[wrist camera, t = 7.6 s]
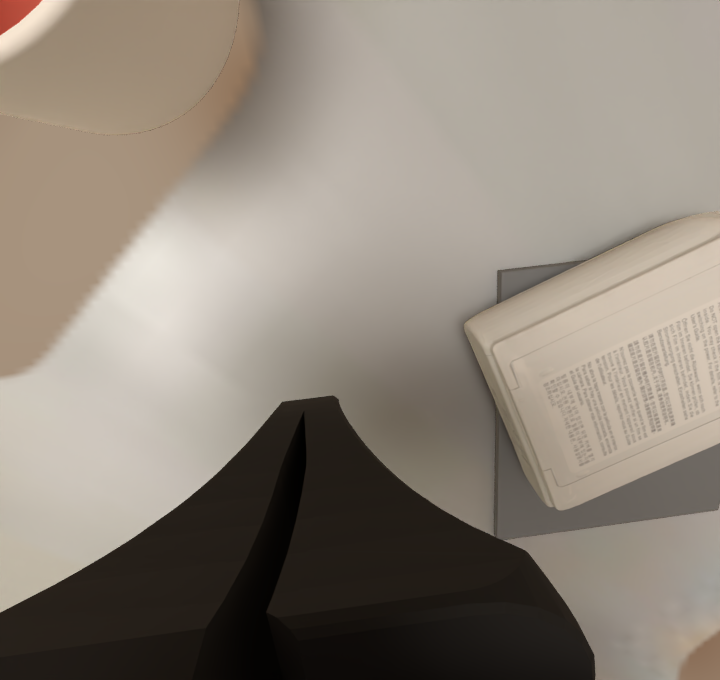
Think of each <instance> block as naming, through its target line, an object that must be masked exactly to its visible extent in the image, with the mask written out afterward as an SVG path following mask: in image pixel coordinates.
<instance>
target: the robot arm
mask: <svg viewBox="0 0 720 680" xmlns="http://www.w3.org/2000/svg"><path fill="white" fill-rule="evenodd" d="M0 680H595V661H594V654H593V652H592V650H591V648H590V646H589V644H588V642H587V640H586V638H585V636H584V634H583V632H582V630H581V628H580V626H579V624H578V622H577V621H576V619H575V617H574V616H573V614H572V613H571V611H570V609H569V608H568V606H567V605H566V603H565V602H564V600H563V599H562V598H561V596H560V595H559V593H558V592H557V591H556V589H555V588H554V587H553V585H552V584H551V582H550V581H549V580H548V578H547V577H546V576H545V574H544V573H543V572H542V570H541V569H540V568H539V566H538V565H537V564H536V562H535V561H534V560H533V559H532V557H531V556H530V555H529V554H528V552H526V551H525V550H523V549H521V548H519V547H516V546H514V545H512V544H510V543H507V542H505V541H503V540H501V539H499V538H496V537H494V536H492V535H490V534H488V533H485V532H483V531H481V530H479V529H476V528H474V527H472V526H470V525H468V524H466V523H465V522H463V521H461V520H459V519H458V518H456V517H454V516H452V515H450V514H449V513H447V512H445V511H443V510H442V509H440V508H438V507H437V506H435V505H434V504H433V503H431V502H430V501H428V500H427V499H425V498H424V497H422V496H421V495H419V494H418V493H416V492H415V491H414V490H412V489H411V488H410V487H409V486H407V485H406V484H405V483H404V482H402V481H401V480H400V479H399V478H398V477H397V476H395V475H394V474H393V473H392V472H391V471H390V470H389V469H388V468H387V467H386V466H385V465H384V464H383V463H382V462H381V461H380V460H379V459H378V458H377V457H376V456H375V455H374V454H373V453H372V452H371V451H370V449H369V448H368V447H367V446H366V445H365V444H364V442H363V441H362V440H361V439H360V437H359V436H358V435H357V433H356V432H355V430H354V429H353V428H352V426H351V425H350V423H349V422H348V420H347V419H346V417H345V415H344V413H343V411H342V409H341V407H340V405H339V399H337V398H336V397H335V396H326V397H318V398H310V399H302V400H294V401H286V402H282V403H281V404H280V405H279V407H278V408H277V409H276V410H275V411H274V412H273V414H272V415H271V416H270V417H269V418H268V420H267V421H266V422H265V423H264V424H263V426H262V427H261V428H260V429H259V430H258V431H257V433H256V434H255V435H254V436H253V437H252V438H251V439H250V441H249V442H248V443H247V444H246V445H245V446H244V447H243V448H242V449H241V450H240V451H239V452H238V453H237V454H236V455H235V456H234V457H233V458H232V459H231V460H230V461H229V462H228V463H227V464H226V465H225V466H224V467H223V468H222V469H221V470H220V471H219V472H218V473H217V474H216V475H215V476H214V477H213V478H212V479H210V480H209V481H208V482H207V483H206V484H205V485H204V486H203V487H201V488H200V489H199V490H198V491H196V492H195V493H194V494H193V495H192V496H190V497H189V498H188V499H187V500H185V501H184V502H183V503H182V504H180V505H179V506H178V507H176V508H175V509H174V510H172V511H171V512H169V513H168V514H167V515H165V516H164V517H162V518H161V519H160V520H158V521H157V522H155V523H154V524H152V525H151V526H150V527H148V528H147V529H145V530H144V531H143V532H141V533H140V534H138V535H137V536H135V537H134V538H132V539H131V540H129V541H128V542H126V543H125V544H123V545H121V546H120V547H118V548H117V549H115V550H113V551H112V552H110V553H109V554H107V555H105V556H104V557H102V558H100V559H99V560H97V561H95V562H94V563H92V564H90V565H88V566H87V567H85V568H83V569H82V570H80V571H78V572H77V573H75V574H73V575H71V576H69V577H68V578H66V579H64V580H62V581H60V582H59V583H57V584H55V585H53V586H51V587H49V588H47V589H46V590H44V591H42V592H40V593H38V594H36V595H34V596H32V597H30V598H28V599H26V600H24V601H22V602H20V603H18V604H16V605H14V606H13V607H11V608H9V609H7V610H5V611H3V612H1V613H0Z"/></svg>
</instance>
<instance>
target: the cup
mask: <svg viewBox="0 0 720 680" xmlns="http://www.w3.org/2000/svg"><path fill="white" fill-rule="evenodd" d="M239 3H240V0H0V114H3V115H8V116H13V117H17V118H22V119H27V120H32V121H36V122H41V123H45V124H51V125H55V126H59V127H64V128H69V129H74V130H78V131H84V132H89V133H95V134H104V135H127V134H135V133H141V132H145V131H150V130H153V129H156V128H158V127H161V126H164V125H166V124H168V123H170V122H172V121H174V120H176V119H178V118H179V117H181V116H182V115H184V114H185V113H187V112H188V111H189V110H190V109H192V108H193V107H194V106H195V105H196V104H197V103H198V102H199V101H200V100H201V99H202V98H203V97H204V96H205V95H206V94H207V92H208V91H209V90H210V89H211V87H212V86H213V84H214V83H215V81H216V80H217V78H218V77H219V75H220V73H221V71H222V69H223V67H224V65H225V63H226V61H227V58H228V56H229V53H230V50H231V47H232V44H233V40H234V36H235V32H236V27H237V21H238V14H239Z"/></svg>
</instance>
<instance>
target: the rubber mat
mask: <svg viewBox="0 0 720 680" xmlns="http://www.w3.org/2000/svg"><path fill="white" fill-rule="evenodd" d="M586 261H588V260H584V261H575V262H566V263H558V264H549V265H541V266H532V267H523V268H515V269H506V270H498V286H497V304H499V303H501V302H503V301H505V300H507V299H509V298H511V297H513V296H515V295H517V294H519V293H521V292H523V291H526V290H528V289H530V288H532V287H534V286H536V285H538V284H540V283H542V282H544V281H546V280H548V279H551V278H552V277H555V276H557V275H559V274H561V273H563V272H565V271H567V270H569V269H571V268H573V267H575V266H577V265H580V264H582V263H584V262H586ZM719 504H720V443H719V444H716V445H714V446H712V447H710V448H707V449H705V450H703V451H700V452H698V453H696V454H694V455H691V456H689V457H687V458H684V459H682V460H680V461H677V462H675V463H673V464H671V465H668V466H666V467H664V468H661V469H659V470H657V471H655V472H652V473H650V474H648V475H645V476H643V477H641V478H639V479H636V480H634V481H632V482H630V483H627V484H625V485H623V486H621V487H618V488H616V489H614V490H611V491H609V492H607V493H605V494H603V495H600V496H598V497H596V498H594V499H591V500H589V501H587V502H584V503H582V504H580V505H578V506H575V507H572V508H570V509H566V510H557V509H556V508H555V507H548V506H547V505H546V504H545V503H544V502H543V501H542V500H541V498H540V497H539V496H538V494H537V493H536V491H535V490H534V488H533V487H532V485H531V484H530V482H529V481H528V479H527V477H526V475H525V474H524V471H523V469H522V466H521V464H520V461H519V459H518V456H517V453H516V451H515V448H514V445H513V443H512V441H511V438H510V436H509V433H508V431H507V429H506V426H505V424H504V422H503V419H502V417H501V415H500V412H499V410H498V407H497V405H496V431H495V504H494V535H495V537H496V538H499V539H501V540H507V539H514V538H521V537H528V536H536V535H543V534H550V533H557V532H564V531H571V530H579V529H586V528H593V527H600V526H607V525H615V524H622V523H629V522H636V521H643V520H651V519H658V518H665V517H672V516H679V515H686V514H694V513H701V512H708V511H715V510H718V508H719Z"/></svg>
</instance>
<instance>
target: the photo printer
mask: <svg viewBox="0 0 720 680" xmlns="http://www.w3.org/2000/svg"><path fill="white" fill-rule="evenodd" d="M464 330H465V333H466V335H467V337H468V340H469V342H470V344H471V347H472V349H473V351H474V354H475V356H476V358H477V360H478V363H479V365H480V367H481V370H482V372H483V374H484V377H485V379H486V381H487V384H488V386H489V388H490V391H491V393H492V395H493V398H494V400H495V403H496V405H497V407H498V410H499V412H500V415H501V417H502V419H503V422H504V424H505V426H506V429H507V431H508V433H509V436H510V438H511V441H512V443H513V445H514V448H515V451H516V453H517V456H518V459H519V461H520V464H521V466H522V469H523V471H524V474H525V475H526V477H527V479H528V481H529V482H530V484H531V485H532V487H533V488H534V490H535V491H536V493H537V494H538V496H539V497H540V498H541V500H542V501H543V502H544V503H545V504H546V505H547V506H548V507H555V508H556V509H557V510H566V509H570V508H572V507H575V506H578V505H580V504H582V503H584V502H587V501H589V500H591V499H594V498H596V497H598V496H600V495H603V494H605V493H607V492H609V491H611V490H614V489H616V488H618V487H621V486H623V485H625V484H627V483H630V482H632V481H634V480H636V479H639V478H641V477H643V476H645V475H648V474H650V473H652V472H655V471H657V470H659V469H661V468H664V467H666V466H668V465H671V464H673V463H675V462H677V461H680V460H682V459H684V458H687V457H689V456H691V455H694V454H696V453H698V452H700V451H703V450H705V449H707V448H710V447H712V446H714V445H716V444H719V443H720V212H718V211H715V212H708V213H702V214H697V215H693V216H689V217H686V218H682V219H679V220H676V221H672V222H669V223H667V224H664V225H662V226H659V227H657V228H655V229H653V230H650V231H648V232H646V233H644V234H642V235H640V236H638V237H636V238H634V239H632V240H629V241H627V242H625V243H623V244H621V245H619V246H617V247H615V248H613V249H611V250H608V251H606V252H604V253H602V254H600V255H598V256H596V257H594V258H592V259H590V260H588V261H586V262H584V263H582V264H580V265H577V266H575V267H573V268H571V269H569V270H567V271H565V272H563V273H561V274H559V275H557V276H555V277H552V278H551V279H548V280H546V281H544V282H542V283H540V284H538V285H536V286H534V287H532V288H530V289H528V290H526V291H523V292H521V293H519V294H517V295H515V296H513V297H511V298H509V299H507V300H505V301H503V302H501V303H499V304H497V305H495V306H493V307H491V308H489V309H487V310H485V311H483V312H481V313H479V314H477V315H475V316H474V317H472V318H470V319H469V320H468V321H467V322H466V323H465V324H464Z"/></svg>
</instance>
